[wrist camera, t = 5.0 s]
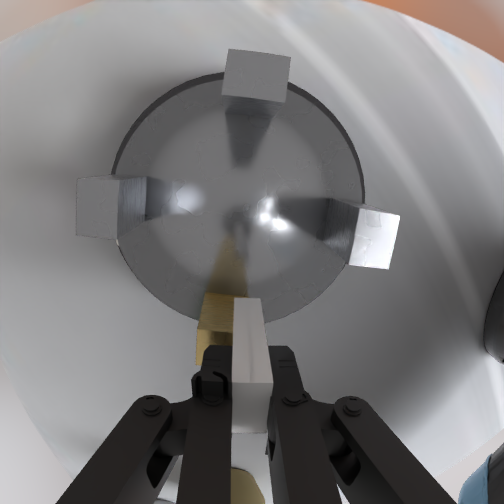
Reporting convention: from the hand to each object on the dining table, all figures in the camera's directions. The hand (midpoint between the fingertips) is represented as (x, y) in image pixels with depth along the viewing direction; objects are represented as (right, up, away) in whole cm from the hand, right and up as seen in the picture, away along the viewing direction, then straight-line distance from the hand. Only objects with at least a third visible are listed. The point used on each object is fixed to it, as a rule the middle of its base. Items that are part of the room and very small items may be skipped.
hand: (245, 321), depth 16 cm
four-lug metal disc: (-1, +6, +2) cm, 7 cm away
